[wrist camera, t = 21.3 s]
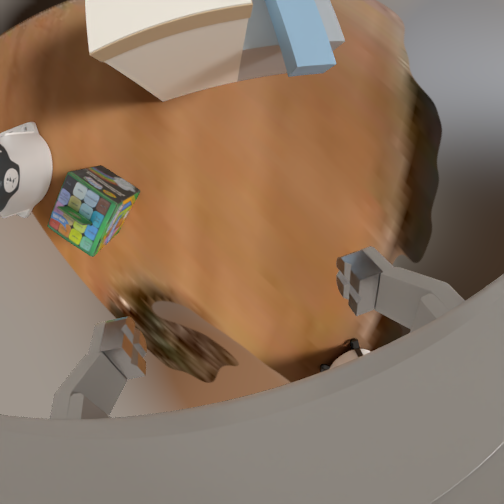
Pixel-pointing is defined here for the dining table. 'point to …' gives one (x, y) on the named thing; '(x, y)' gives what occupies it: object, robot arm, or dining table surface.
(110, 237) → the chalk box
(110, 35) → the carton
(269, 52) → the block
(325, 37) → the blue square bar
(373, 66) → the dining table surface
